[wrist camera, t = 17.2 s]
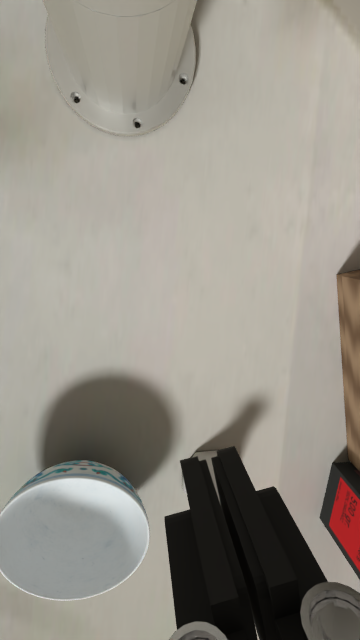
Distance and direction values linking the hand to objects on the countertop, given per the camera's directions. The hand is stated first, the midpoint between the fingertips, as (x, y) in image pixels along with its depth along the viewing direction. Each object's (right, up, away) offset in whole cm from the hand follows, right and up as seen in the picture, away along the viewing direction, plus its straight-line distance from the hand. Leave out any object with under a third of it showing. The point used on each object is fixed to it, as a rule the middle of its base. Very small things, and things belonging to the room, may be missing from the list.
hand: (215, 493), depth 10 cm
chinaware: (-13, -15, +31) cm, 36 cm away
